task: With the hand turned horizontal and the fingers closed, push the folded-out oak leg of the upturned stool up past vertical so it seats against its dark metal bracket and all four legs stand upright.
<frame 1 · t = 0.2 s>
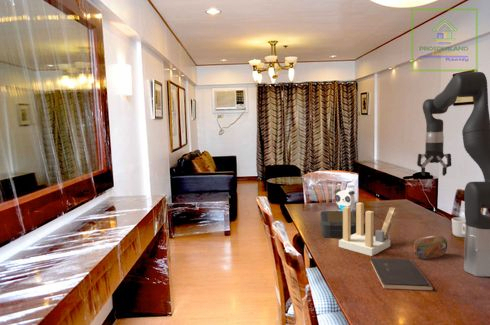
hand: (433, 175, 170), 29 cm above the table, tool pointing down, fingers open, 8 cm apart
hardcover book: (398, 276, 129), on the table
tin: (429, 257, 145), on the table
leg: (388, 223, 161), point 10 cm above the table, hinge at 40.0°
panda figurine: (344, 215, 212), on the table
cup: (461, 237, 167), on the table
cash box: (341, 231, 183), on the table, touching stool
stool: (364, 246, 159), on the table
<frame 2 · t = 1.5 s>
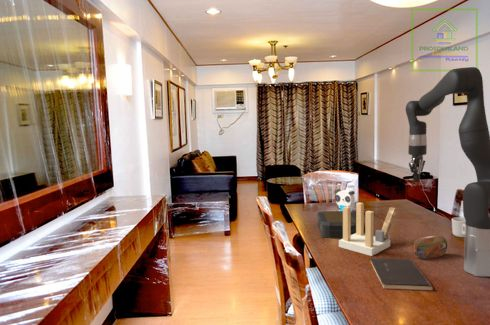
hand: (416, 181, 165), 27 cm above the table, tool pointing down, fingers closed
cash box: (339, 231, 183), on the table, touching stool
everything else where it was.
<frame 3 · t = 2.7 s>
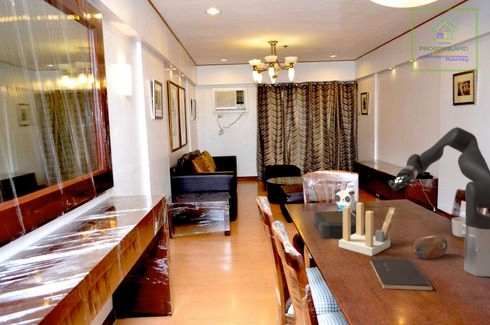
hand: (394, 188, 167), 24 cm above the table, tool horizontal, fingers closed
cash box: (337, 231, 183), on the table, touching stool
everything else where it was.
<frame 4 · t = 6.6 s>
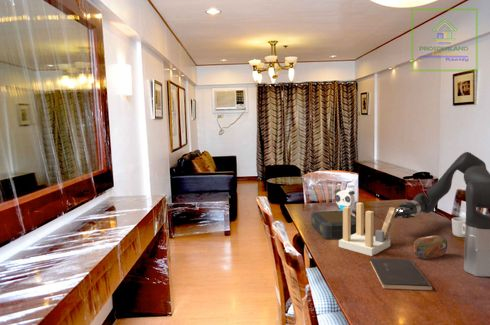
hand: (392, 216, 163), 12 cm above the table, tool horizontal, fingers closed
leg: (388, 223, 161), point 10 cm above the table, hinge at 40.0°, touching gripper, stool
cash box: (336, 231, 183), on the table
everything else where it was.
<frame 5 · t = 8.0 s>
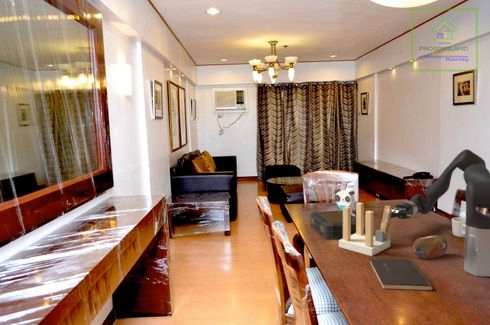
hand: (388, 216, 160), 13 cm above the table, tool horizontal, fingers closed
leg: (385, 222, 159), point 10 cm above the table, hinge at 21.8°, touching gripper, stool
everything else where it was.
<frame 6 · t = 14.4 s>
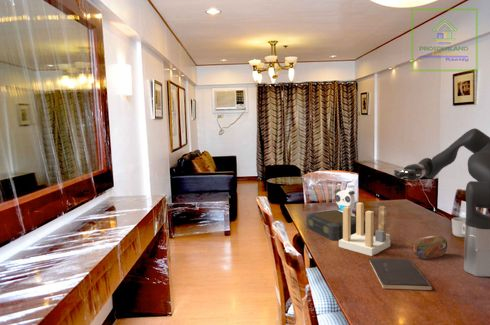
hand: (398, 175, 164), 30 cm above the table, tool horizontal, fingers closed
leg: (382, 223, 157), point 10 cm above the table, hinge at 0.0°, touching stool
at the end: leg at +0° (first picture: +40°); the gripper is holding nothing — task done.
